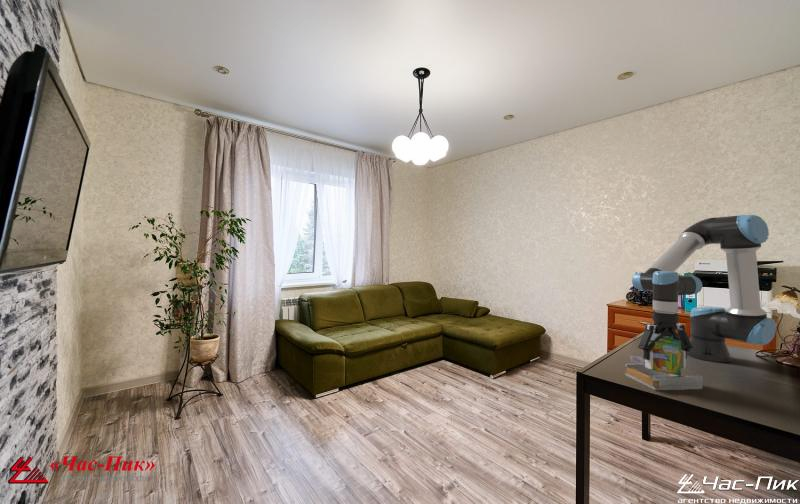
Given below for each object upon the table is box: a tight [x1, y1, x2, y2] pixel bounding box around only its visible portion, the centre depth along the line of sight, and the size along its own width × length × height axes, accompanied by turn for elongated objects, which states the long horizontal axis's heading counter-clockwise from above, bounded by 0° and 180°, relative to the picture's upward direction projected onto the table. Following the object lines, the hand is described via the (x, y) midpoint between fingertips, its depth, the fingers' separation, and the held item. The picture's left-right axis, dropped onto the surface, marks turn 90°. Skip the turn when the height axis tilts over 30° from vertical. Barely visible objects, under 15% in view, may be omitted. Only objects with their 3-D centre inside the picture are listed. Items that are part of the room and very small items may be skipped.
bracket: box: [624, 363, 704, 391], centre depth 120 cm, size 18×14×4 cm
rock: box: [629, 354, 645, 364], centre depth 134 cm, size 8×11×5 cm
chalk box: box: [650, 334, 682, 376], centre depth 120 cm, size 9×9×15 cm
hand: (665, 367), depth 120 cm, fingers closed on chalk box, 12 cm apart
